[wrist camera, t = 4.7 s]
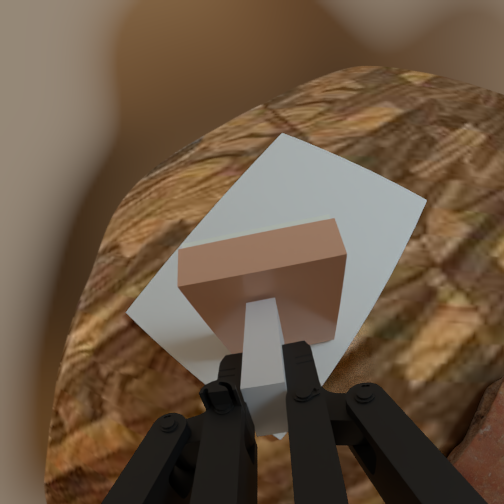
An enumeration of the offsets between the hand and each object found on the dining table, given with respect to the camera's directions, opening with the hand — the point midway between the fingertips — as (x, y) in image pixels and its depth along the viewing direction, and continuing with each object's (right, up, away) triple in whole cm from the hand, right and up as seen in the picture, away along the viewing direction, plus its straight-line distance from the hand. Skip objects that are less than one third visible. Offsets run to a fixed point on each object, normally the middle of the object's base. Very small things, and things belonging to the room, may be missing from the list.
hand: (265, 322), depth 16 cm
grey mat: (+2, +3, +12) cm, 13 cm away
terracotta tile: (+2, -3, +8) cm, 9 cm away
